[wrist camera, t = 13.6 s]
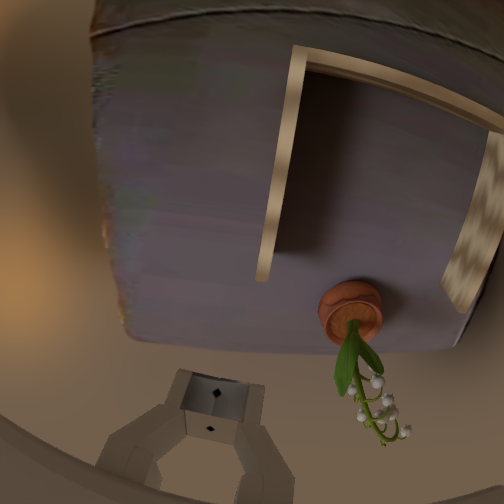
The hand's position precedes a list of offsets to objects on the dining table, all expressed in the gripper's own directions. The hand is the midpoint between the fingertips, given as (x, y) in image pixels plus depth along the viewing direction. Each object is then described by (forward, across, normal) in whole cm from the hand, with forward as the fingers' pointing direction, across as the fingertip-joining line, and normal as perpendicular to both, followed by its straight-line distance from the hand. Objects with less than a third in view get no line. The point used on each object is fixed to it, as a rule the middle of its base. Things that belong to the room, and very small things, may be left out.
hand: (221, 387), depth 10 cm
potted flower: (+33, -15, +19) cm, 41 cm away
